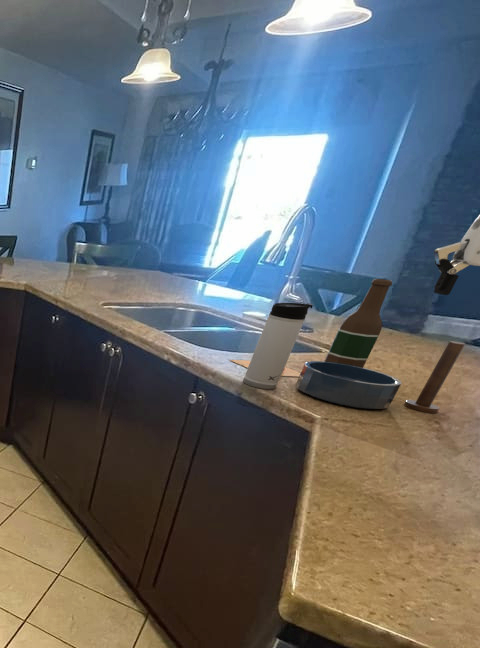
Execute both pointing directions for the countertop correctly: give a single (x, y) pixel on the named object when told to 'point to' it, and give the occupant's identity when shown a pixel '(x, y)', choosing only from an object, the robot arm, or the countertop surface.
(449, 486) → the countertop surface
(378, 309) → the beer bottle
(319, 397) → the bowl
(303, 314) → the travel mug
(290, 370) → the tan flat slab
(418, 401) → the wooden post with base
